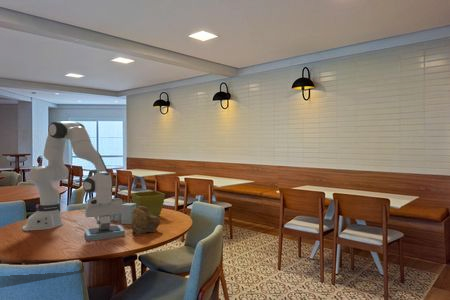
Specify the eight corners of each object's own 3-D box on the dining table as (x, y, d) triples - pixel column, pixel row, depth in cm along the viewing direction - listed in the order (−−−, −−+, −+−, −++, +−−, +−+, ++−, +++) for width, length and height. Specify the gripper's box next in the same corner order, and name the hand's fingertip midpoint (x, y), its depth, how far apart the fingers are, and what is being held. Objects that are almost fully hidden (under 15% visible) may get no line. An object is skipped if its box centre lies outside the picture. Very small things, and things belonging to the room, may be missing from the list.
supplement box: (131, 224, 213) (131, 205, 212) (121, 223, 214) (120, 204, 214) (136, 221, 220) (136, 203, 219) (126, 221, 221) (126, 202, 221)
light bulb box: (106, 219, 225) (105, 204, 225) (112, 217, 231) (112, 202, 231) (118, 221, 221) (118, 205, 221) (125, 219, 227) (124, 203, 227)
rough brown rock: (157, 238, 185) (159, 211, 185) (127, 236, 183) (129, 210, 184) (160, 228, 208) (162, 205, 209) (134, 227, 207) (136, 203, 207)
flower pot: (165, 217, 232) (165, 193, 231) (139, 221, 221) (139, 196, 221) (155, 212, 248) (155, 190, 247) (130, 215, 237) (130, 192, 236)
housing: (100, 229, 184) (100, 217, 183) (98, 226, 191) (98, 214, 190) (110, 228, 186) (109, 216, 186) (107, 225, 193) (107, 213, 193)
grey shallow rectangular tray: (87, 241, 177) (87, 234, 177) (84, 234, 190) (84, 228, 190) (124, 235, 187) (124, 229, 187) (119, 229, 199) (119, 224, 199)
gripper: (121, 197, 196) (121, 219, 196) (84, 200, 186) (84, 224, 186) (123, 198, 190) (123, 222, 191) (85, 202, 180) (86, 226, 181)
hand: (104, 223), depth 188 cm, fingers closed on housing, 5 cm apart
